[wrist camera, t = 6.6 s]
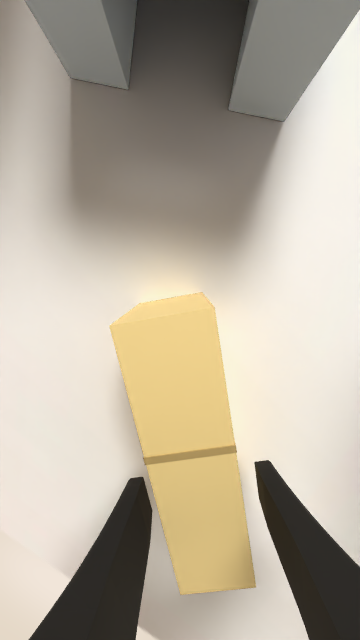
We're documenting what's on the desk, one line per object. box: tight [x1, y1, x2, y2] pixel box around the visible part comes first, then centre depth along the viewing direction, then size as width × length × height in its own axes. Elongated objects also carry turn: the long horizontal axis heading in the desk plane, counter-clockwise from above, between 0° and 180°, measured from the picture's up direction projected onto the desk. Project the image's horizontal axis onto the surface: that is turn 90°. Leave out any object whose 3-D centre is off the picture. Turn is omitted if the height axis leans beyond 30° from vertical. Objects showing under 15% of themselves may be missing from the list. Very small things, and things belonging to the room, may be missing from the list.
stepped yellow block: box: [110, 292, 256, 595], centre depth 10 cm, size 3×12×4 cm, turn 10°
